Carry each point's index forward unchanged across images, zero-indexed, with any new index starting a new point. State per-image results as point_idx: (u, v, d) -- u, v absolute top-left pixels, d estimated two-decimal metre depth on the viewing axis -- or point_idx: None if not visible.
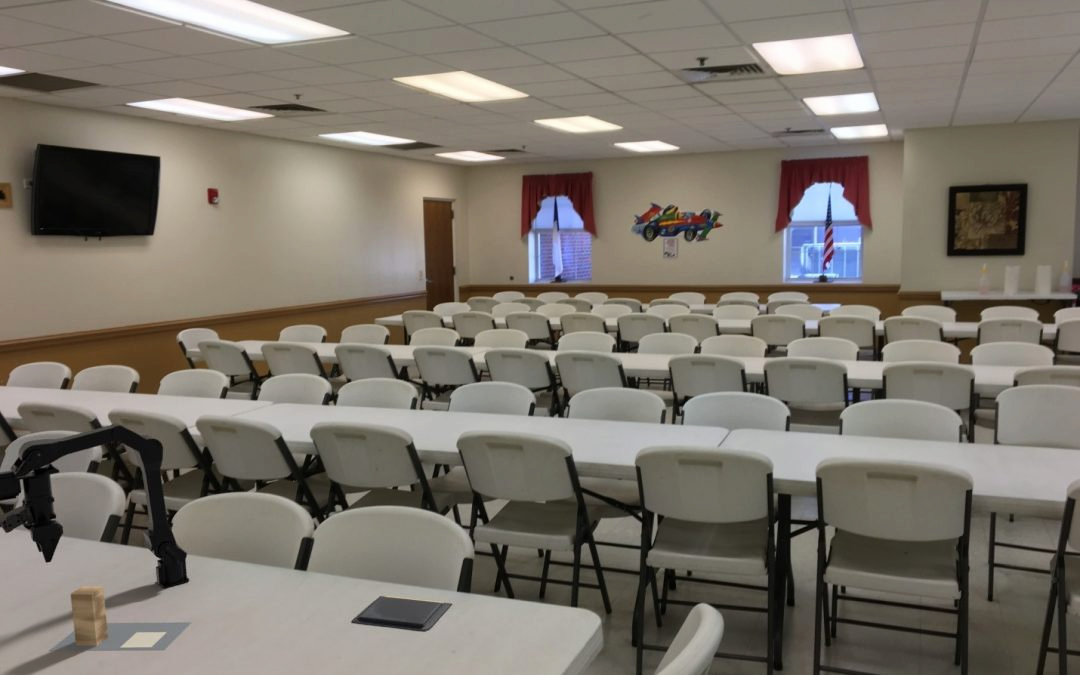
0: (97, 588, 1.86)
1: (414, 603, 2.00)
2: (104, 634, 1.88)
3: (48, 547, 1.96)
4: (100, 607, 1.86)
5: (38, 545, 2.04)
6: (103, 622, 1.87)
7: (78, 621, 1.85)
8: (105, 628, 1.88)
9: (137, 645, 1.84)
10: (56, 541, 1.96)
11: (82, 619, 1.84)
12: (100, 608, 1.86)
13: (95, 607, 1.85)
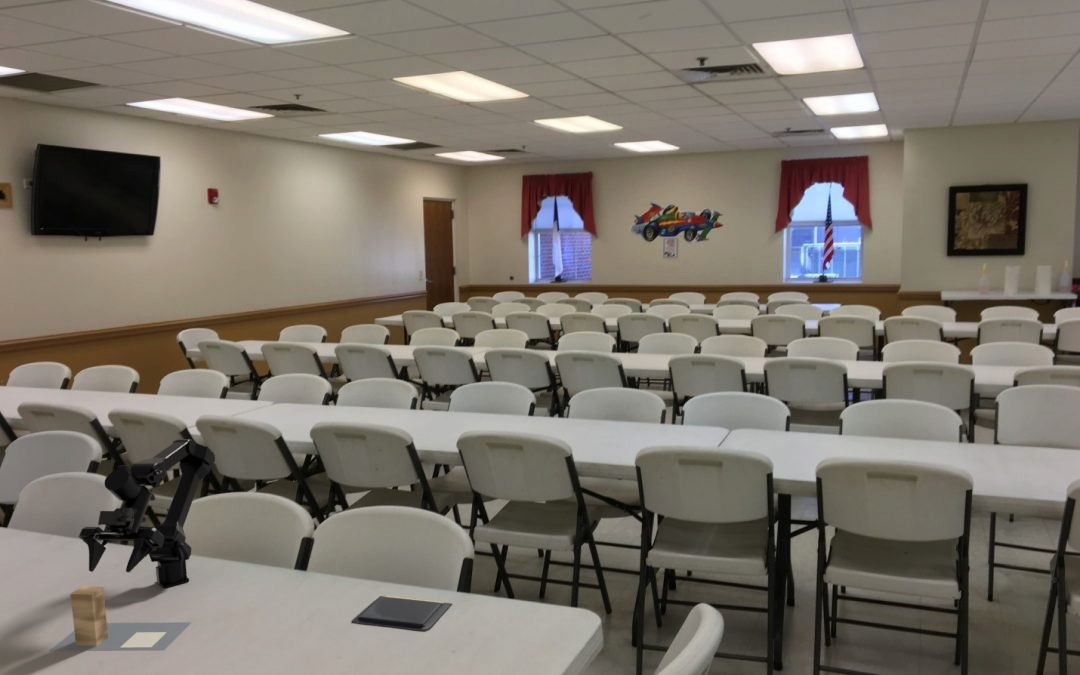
0: (97, 588, 1.86)
1: (414, 603, 2.00)
2: (104, 634, 1.88)
3: (138, 556, 1.95)
4: (100, 607, 1.86)
5: (92, 563, 1.95)
6: (103, 622, 1.87)
7: (78, 621, 1.85)
8: (105, 628, 1.88)
9: (137, 645, 1.84)
10: (145, 554, 1.97)
11: (82, 619, 1.84)
12: (100, 608, 1.86)
13: (95, 607, 1.85)
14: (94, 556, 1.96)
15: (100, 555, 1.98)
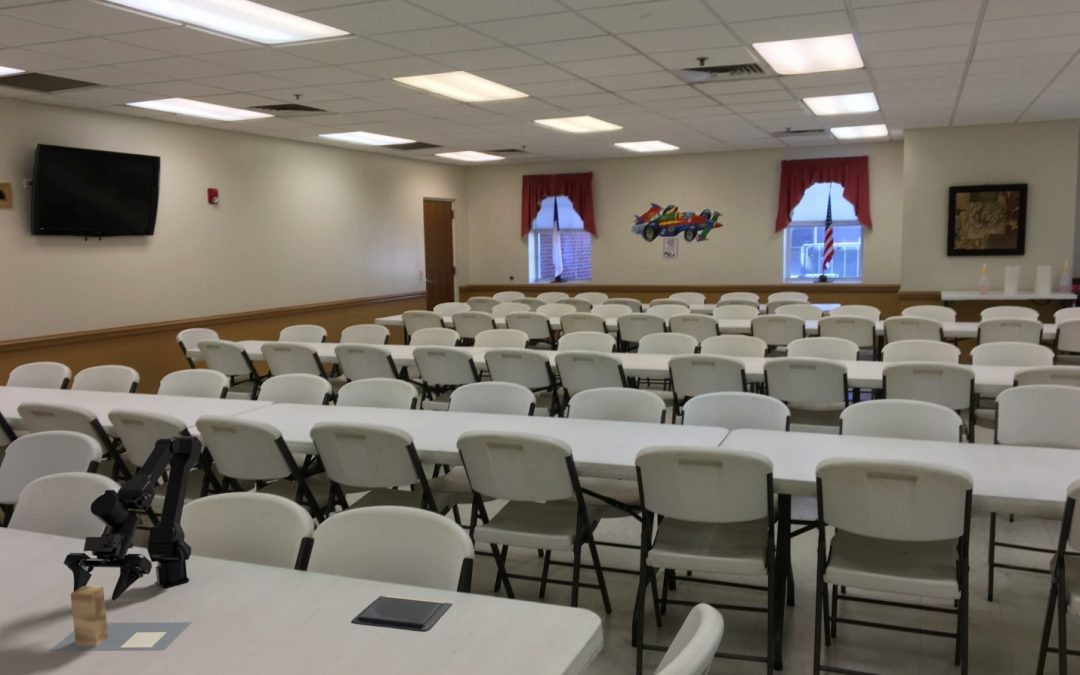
0: (97, 588, 1.86)
1: (414, 603, 2.00)
2: (104, 634, 1.88)
3: (124, 583, 1.90)
4: (100, 607, 1.86)
5: None
6: (103, 622, 1.87)
7: (78, 621, 1.85)
8: (105, 628, 1.88)
9: (137, 645, 1.84)
10: (132, 581, 1.92)
11: (82, 619, 1.84)
12: (100, 608, 1.86)
13: (95, 607, 1.85)
14: (79, 583, 1.90)
15: (85, 582, 1.93)
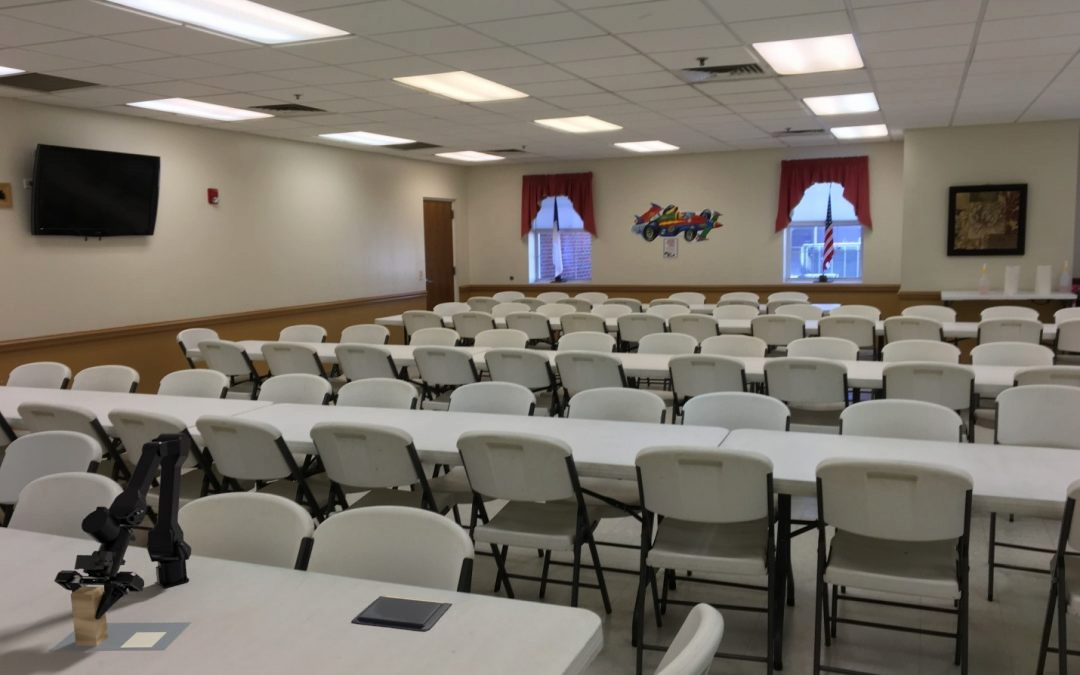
0: (97, 588, 1.86)
1: (414, 603, 2.00)
2: (104, 634, 1.88)
3: (108, 601, 1.87)
4: None
5: None
6: (103, 622, 1.87)
7: (78, 621, 1.85)
8: (105, 628, 1.88)
9: (137, 645, 1.84)
10: (116, 599, 1.89)
11: (82, 619, 1.84)
12: None
13: (95, 607, 1.85)
14: None
15: None
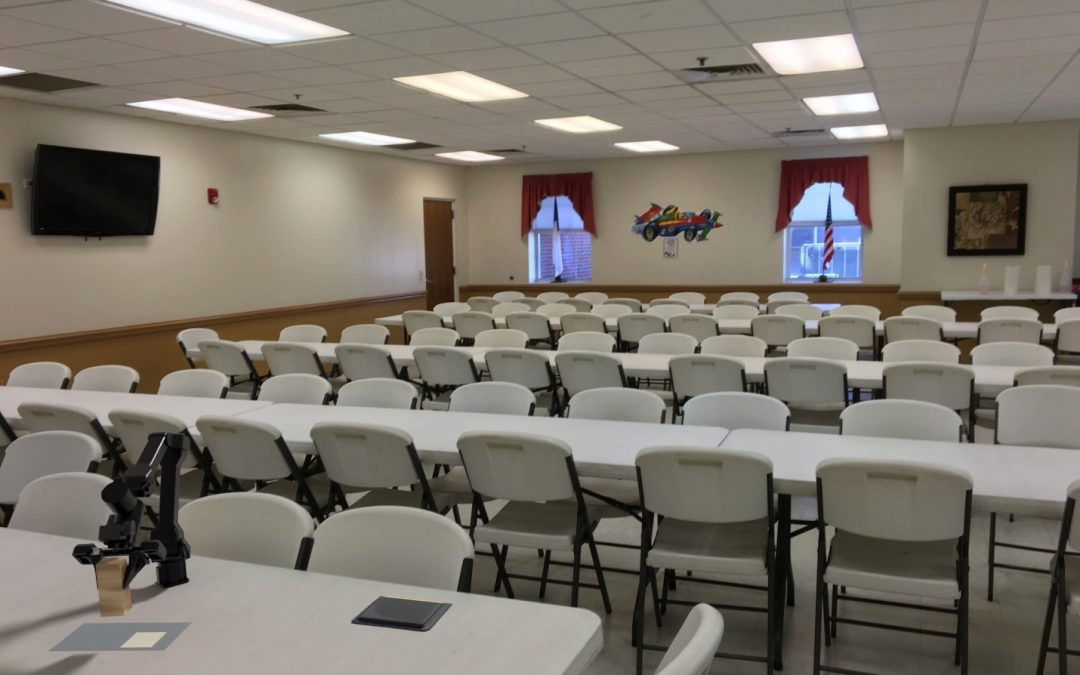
0: (122, 558, 1.85)
1: (414, 603, 2.00)
2: (129, 604, 1.87)
3: (133, 571, 1.86)
4: None
5: None
6: (128, 592, 1.87)
7: (104, 592, 1.83)
8: (129, 598, 1.87)
9: (137, 645, 1.84)
10: (139, 568, 1.89)
11: (109, 590, 1.83)
12: None
13: (122, 576, 1.84)
14: None
15: None
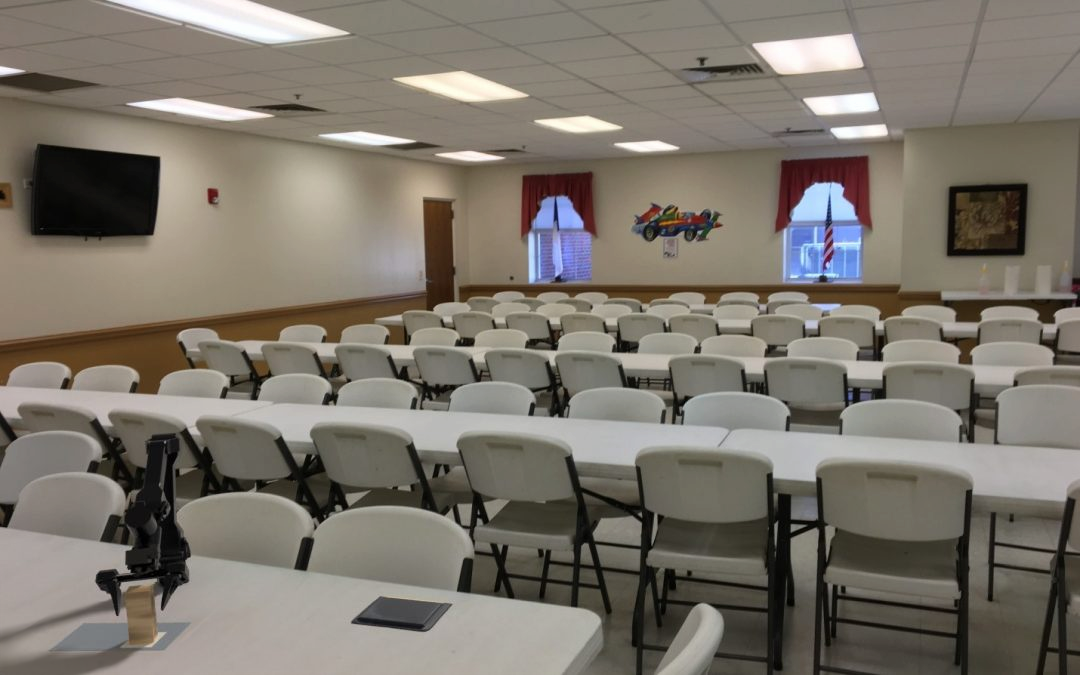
0: (149, 585, 1.87)
1: (414, 603, 2.00)
2: (156, 631, 1.88)
3: (169, 592, 1.89)
4: (153, 604, 1.87)
5: (118, 606, 1.84)
6: (155, 619, 1.88)
7: (133, 620, 1.84)
8: (156, 625, 1.89)
9: (137, 645, 1.84)
10: (173, 590, 1.91)
11: (138, 617, 1.84)
12: (153, 605, 1.87)
13: (151, 603, 1.85)
14: (118, 599, 1.85)
15: (120, 598, 1.88)
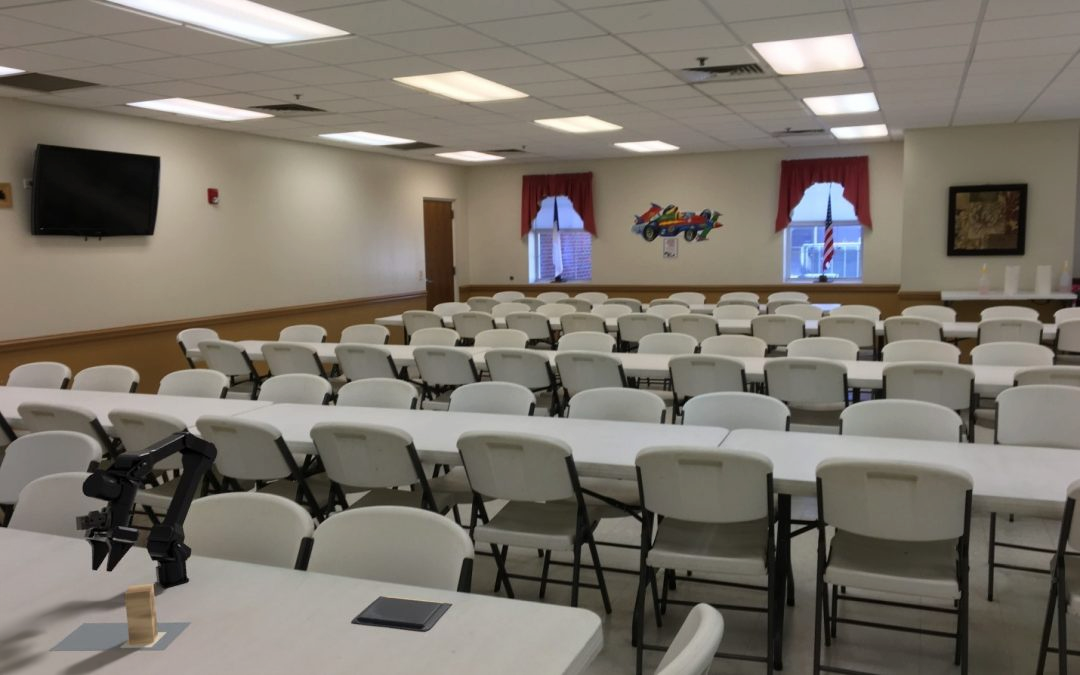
0: (149, 585, 1.87)
1: (414, 603, 2.00)
2: (156, 631, 1.88)
3: (116, 554, 1.95)
4: (153, 604, 1.87)
5: (94, 562, 2.01)
6: (155, 619, 1.88)
7: (133, 620, 1.84)
8: (156, 625, 1.89)
9: (137, 645, 1.84)
10: (125, 550, 1.96)
11: (138, 617, 1.84)
12: (153, 605, 1.87)
13: (151, 603, 1.85)
14: (95, 555, 2.01)
15: (106, 552, 2.03)
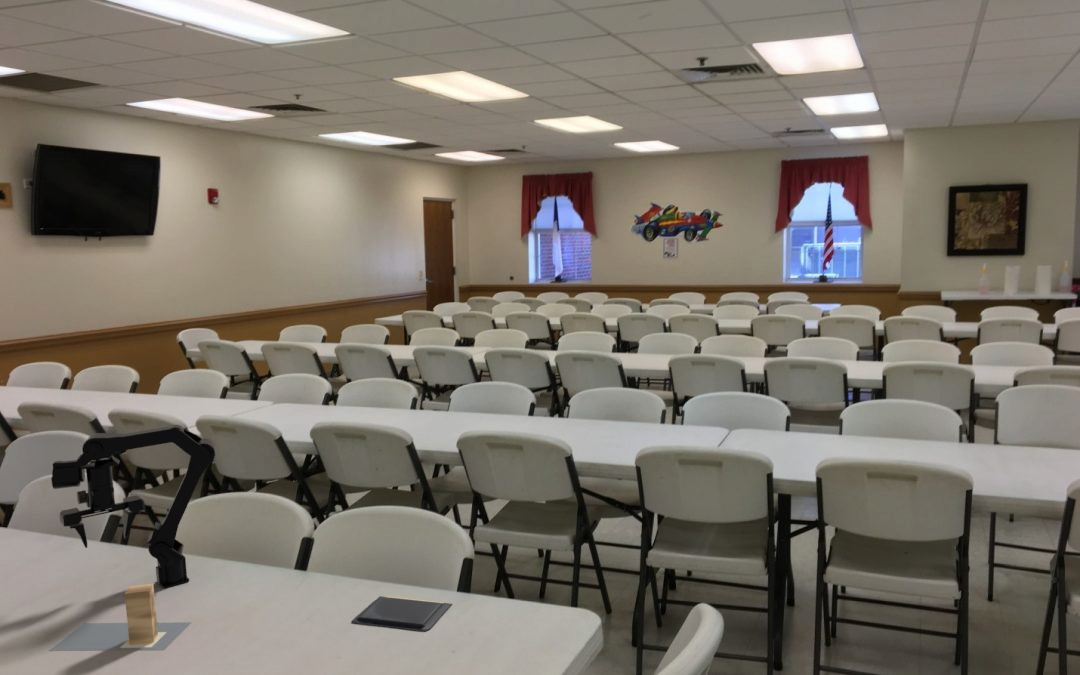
0: (149, 585, 1.87)
1: (414, 603, 2.00)
2: (156, 631, 1.88)
3: None
4: (153, 604, 1.87)
5: (123, 531, 2.17)
6: (155, 619, 1.88)
7: (133, 620, 1.84)
8: (156, 625, 1.89)
9: (137, 645, 1.84)
10: (78, 531, 2.08)
11: (138, 617, 1.84)
12: (153, 605, 1.87)
13: (151, 603, 1.85)
14: None
15: (126, 522, 2.15)
